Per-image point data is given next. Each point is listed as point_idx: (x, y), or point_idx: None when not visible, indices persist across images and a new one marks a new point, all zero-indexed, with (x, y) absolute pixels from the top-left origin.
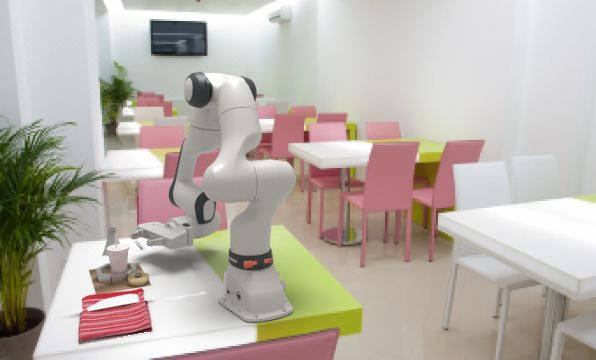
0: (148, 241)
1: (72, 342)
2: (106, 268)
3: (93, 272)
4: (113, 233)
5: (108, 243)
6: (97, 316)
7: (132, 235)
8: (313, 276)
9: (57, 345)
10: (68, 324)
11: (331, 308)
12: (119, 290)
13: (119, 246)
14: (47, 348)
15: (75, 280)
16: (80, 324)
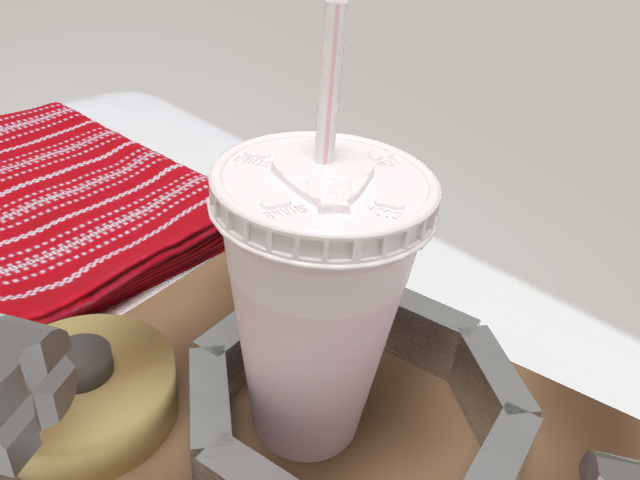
0: (12, 318)
1: (89, 115)
2: (486, 407)
3: (571, 408)
4: None
5: None
6: (100, 171)
7: (592, 452)
8: None
9: (121, 105)
10: (180, 149)
11: None
12: (154, 298)
13: (317, 175)
14: (137, 98)
15: (569, 346)
16: (120, 135)
